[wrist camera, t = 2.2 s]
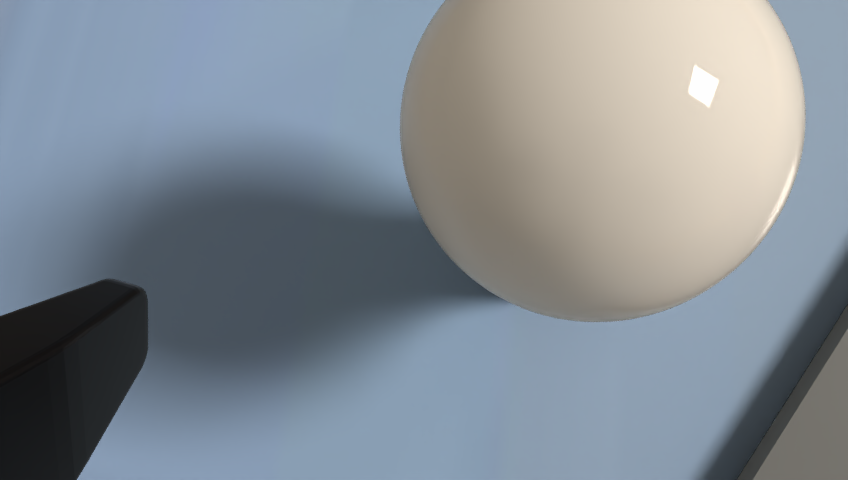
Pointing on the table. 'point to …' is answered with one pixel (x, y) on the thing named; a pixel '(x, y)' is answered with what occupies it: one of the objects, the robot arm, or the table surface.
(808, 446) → the slate tile
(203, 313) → the table surface
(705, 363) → the table surface
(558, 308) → the lightbulb
